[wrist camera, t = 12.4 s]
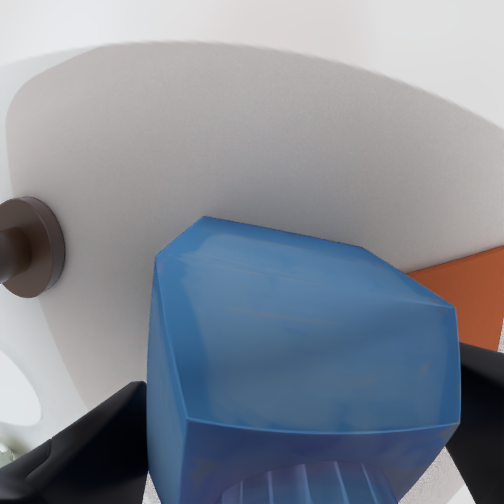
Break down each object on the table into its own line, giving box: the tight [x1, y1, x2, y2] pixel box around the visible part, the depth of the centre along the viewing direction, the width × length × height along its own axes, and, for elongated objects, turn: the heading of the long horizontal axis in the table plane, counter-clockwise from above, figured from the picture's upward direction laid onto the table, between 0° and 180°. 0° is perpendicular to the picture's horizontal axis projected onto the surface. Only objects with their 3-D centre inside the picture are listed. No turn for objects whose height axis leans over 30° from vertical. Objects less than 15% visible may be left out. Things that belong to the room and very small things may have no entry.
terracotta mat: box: [406, 246, 504, 352], centre depth 13 cm, size 9×9×1 cm
